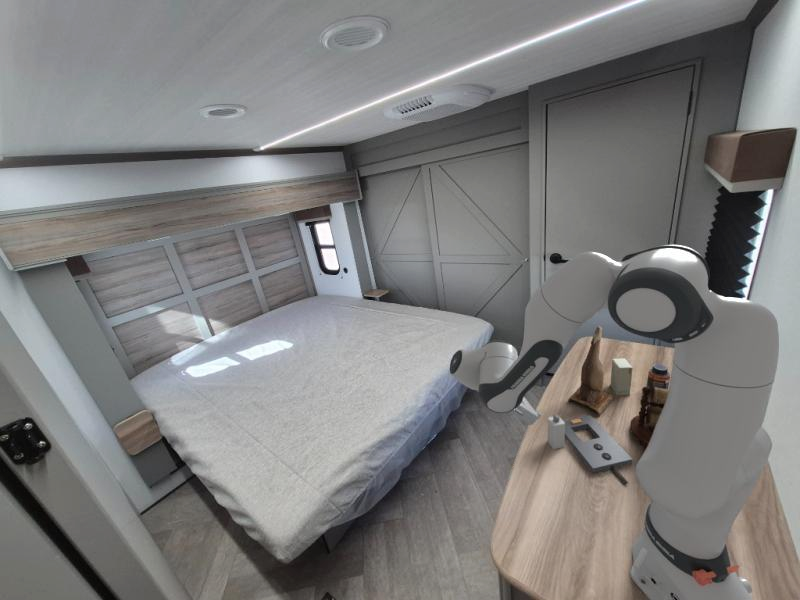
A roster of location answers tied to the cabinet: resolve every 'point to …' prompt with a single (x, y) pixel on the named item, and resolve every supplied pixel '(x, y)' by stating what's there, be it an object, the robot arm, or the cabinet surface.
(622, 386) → the skincare box
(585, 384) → the bird sculpture
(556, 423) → the charger plug
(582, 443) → the power strip
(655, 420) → the brown thread spool stand
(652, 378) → the supplement bottle
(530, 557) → the cabinet surface
